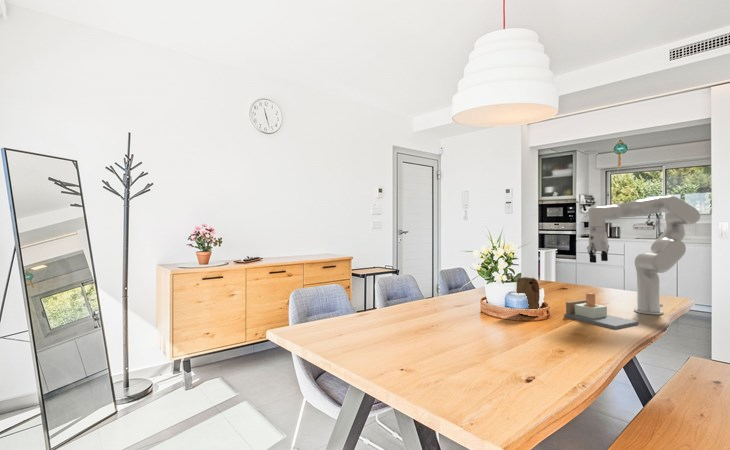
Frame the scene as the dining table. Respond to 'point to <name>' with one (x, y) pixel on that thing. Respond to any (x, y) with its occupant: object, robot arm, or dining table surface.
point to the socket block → (591, 311)
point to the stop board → (603, 321)
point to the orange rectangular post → (590, 299)
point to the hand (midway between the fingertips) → (598, 261)
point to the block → (529, 290)
